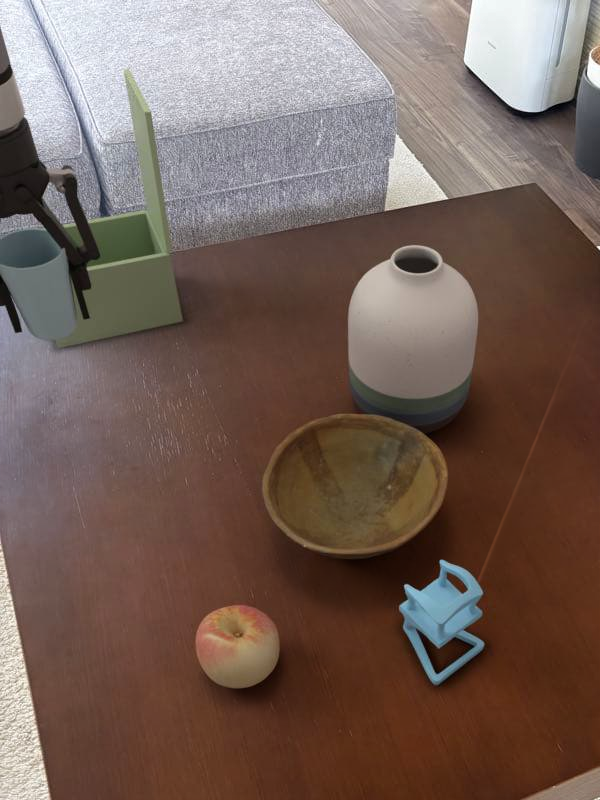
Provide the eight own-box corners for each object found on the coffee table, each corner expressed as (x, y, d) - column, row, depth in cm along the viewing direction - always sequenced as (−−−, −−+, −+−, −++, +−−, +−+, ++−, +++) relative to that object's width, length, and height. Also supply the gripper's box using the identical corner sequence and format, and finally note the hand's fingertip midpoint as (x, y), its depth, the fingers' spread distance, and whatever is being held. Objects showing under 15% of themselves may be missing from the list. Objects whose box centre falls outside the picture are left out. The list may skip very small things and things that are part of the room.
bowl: (480, 537, 109) (490, 484, 101) (339, 635, 99) (337, 584, 91) (370, 441, 119) (371, 386, 111) (231, 522, 109) (221, 467, 101)
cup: (77, 299, 104) (54, 221, 96) (96, 335, 100) (73, 257, 92) (13, 316, 102) (-17, 237, 94) (29, 354, 98) (0, 275, 90)
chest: (58, 349, 128) (34, 280, 119) (44, 300, 135) (21, 231, 126) (183, 322, 133) (170, 254, 124) (163, 276, 140) (149, 209, 131)
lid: (144, 112, 108) (151, 111, 108) (123, 69, 115) (129, 68, 116) (166, 252, 124) (172, 251, 124) (146, 206, 131) (151, 206, 131)
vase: (393, 352, 131) (399, 206, 112) (488, 398, 125) (511, 252, 107) (325, 414, 122) (318, 266, 103) (424, 466, 116) (437, 320, 97)
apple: (193, 648, 97) (182, 608, 91) (268, 623, 100) (262, 582, 93) (215, 712, 92) (204, 675, 86) (293, 684, 95) (289, 646, 89)
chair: (436, 602, 102) (443, 539, 93) (485, 648, 99) (498, 587, 89) (387, 638, 99) (390, 576, 90) (435, 687, 95) (444, 628, 86)
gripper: (-126, 156, 78) (-36, 356, 96) (98, 125, 83) (143, 320, 101) (-129, 118, 82) (-42, 317, 100) (85, 91, 87) (130, 284, 105)
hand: (51, 318), depth 100 cm, fingers closed on cup, 7 cm apart
